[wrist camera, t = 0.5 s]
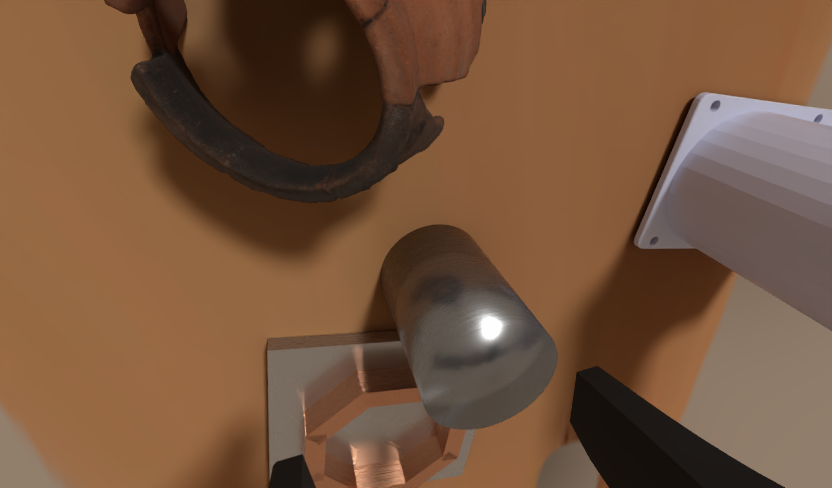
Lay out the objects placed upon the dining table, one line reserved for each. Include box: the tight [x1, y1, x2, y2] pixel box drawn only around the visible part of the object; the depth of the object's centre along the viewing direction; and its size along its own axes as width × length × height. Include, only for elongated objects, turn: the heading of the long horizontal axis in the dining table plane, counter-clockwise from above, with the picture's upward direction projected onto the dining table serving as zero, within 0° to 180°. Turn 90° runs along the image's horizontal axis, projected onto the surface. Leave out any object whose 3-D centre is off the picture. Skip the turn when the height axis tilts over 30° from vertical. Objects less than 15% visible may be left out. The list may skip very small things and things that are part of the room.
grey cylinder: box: [381, 225, 557, 430], centre depth 18 cm, size 5×5×7 cm
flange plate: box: [267, 331, 476, 488], centre depth 24 cm, size 12×12×2 cm
